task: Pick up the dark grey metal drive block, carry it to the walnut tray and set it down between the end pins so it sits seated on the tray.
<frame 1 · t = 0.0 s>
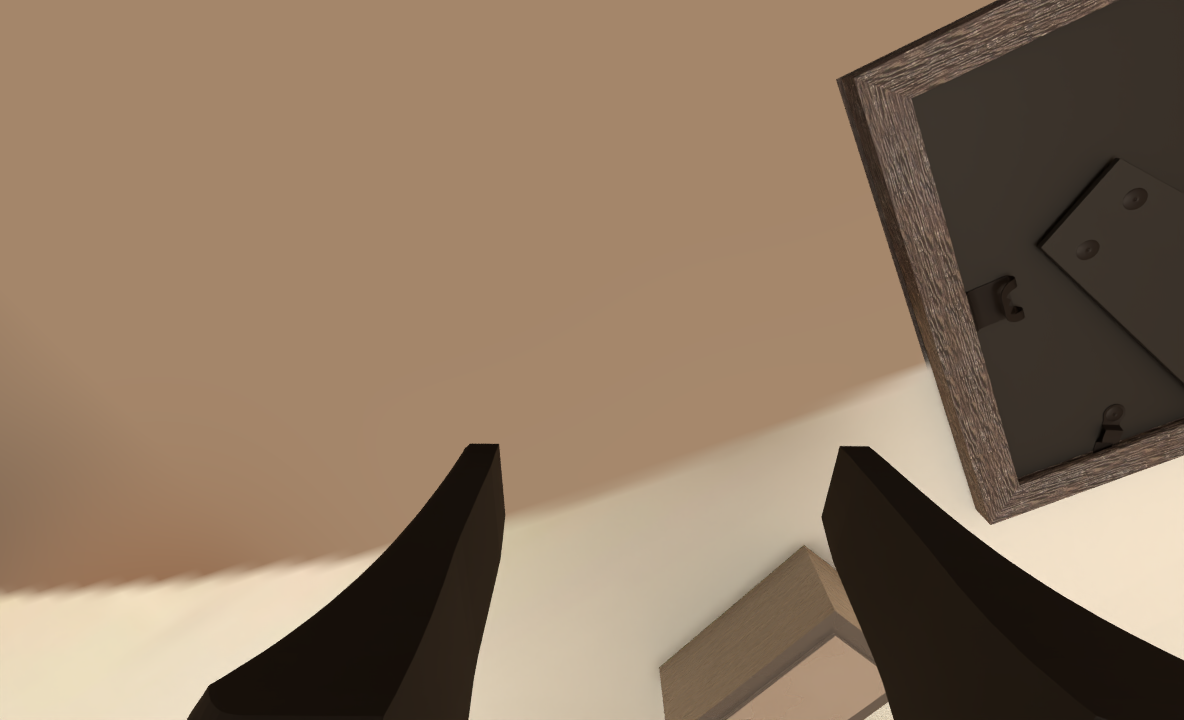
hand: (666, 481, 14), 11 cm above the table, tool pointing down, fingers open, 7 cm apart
picture frame: (1090, 238, 23), on the table
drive: (766, 633, 29), on the table
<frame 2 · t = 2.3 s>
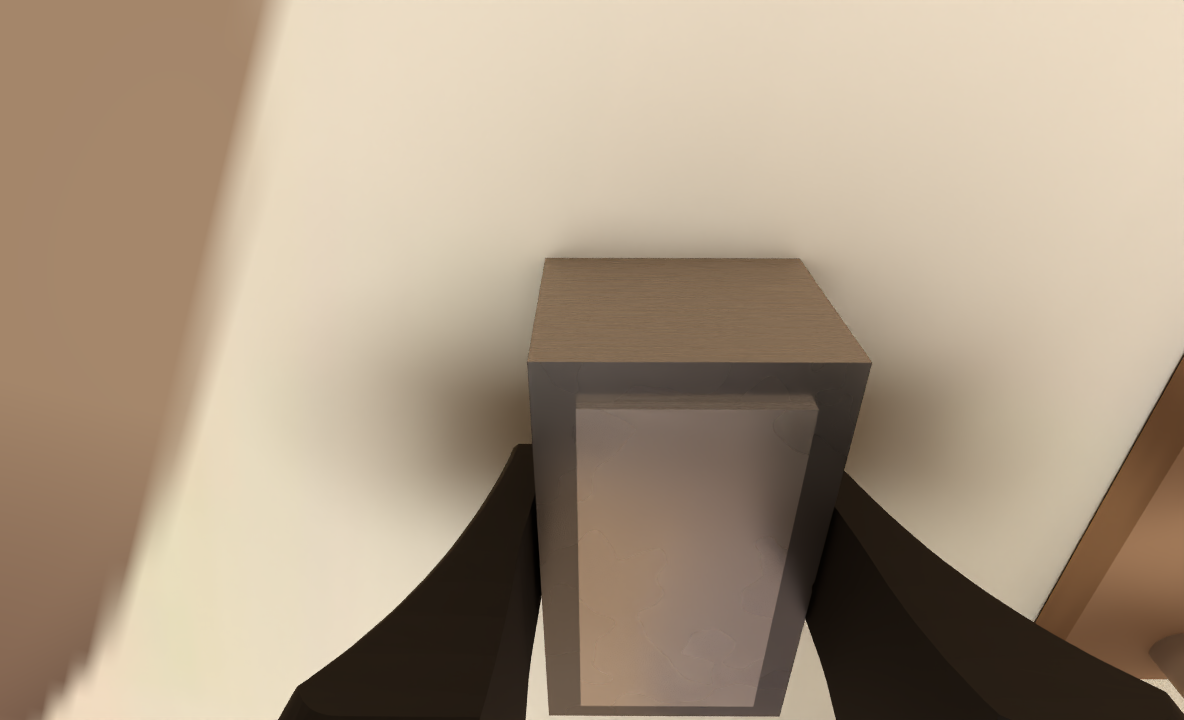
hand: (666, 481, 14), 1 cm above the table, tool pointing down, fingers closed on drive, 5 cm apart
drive: (659, 437, 15), on the table, touching gripper
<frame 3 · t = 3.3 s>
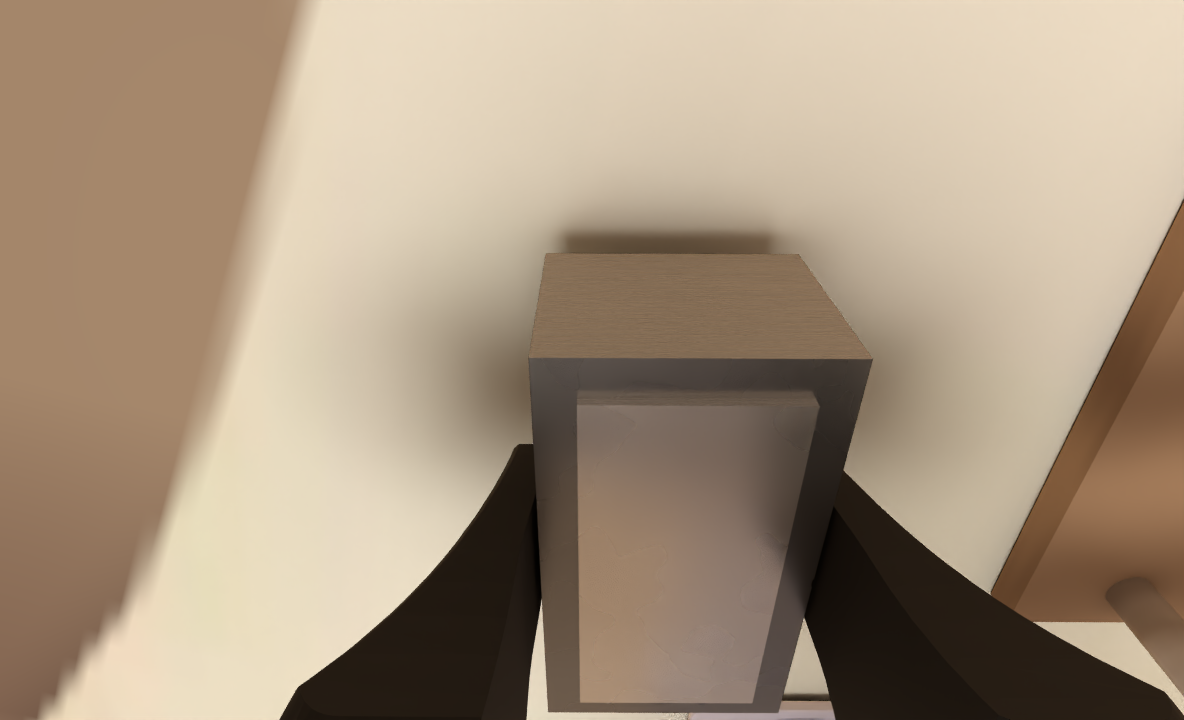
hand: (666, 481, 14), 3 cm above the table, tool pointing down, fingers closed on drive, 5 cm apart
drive: (659, 434, 15), point 2 cm above the table, touching gripper
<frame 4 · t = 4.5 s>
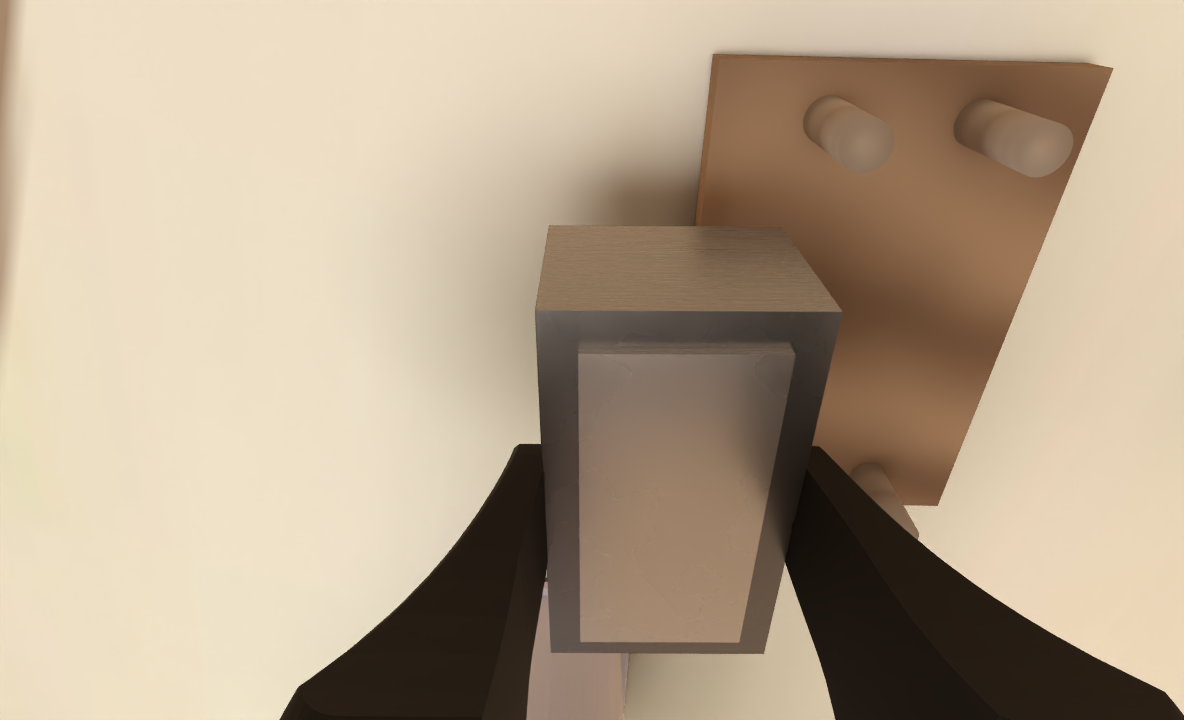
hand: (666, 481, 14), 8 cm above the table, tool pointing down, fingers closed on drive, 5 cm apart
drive: (653, 398, 16), point 5 cm above the table, touching gripper
pin tray: (839, 311, 21), on the table
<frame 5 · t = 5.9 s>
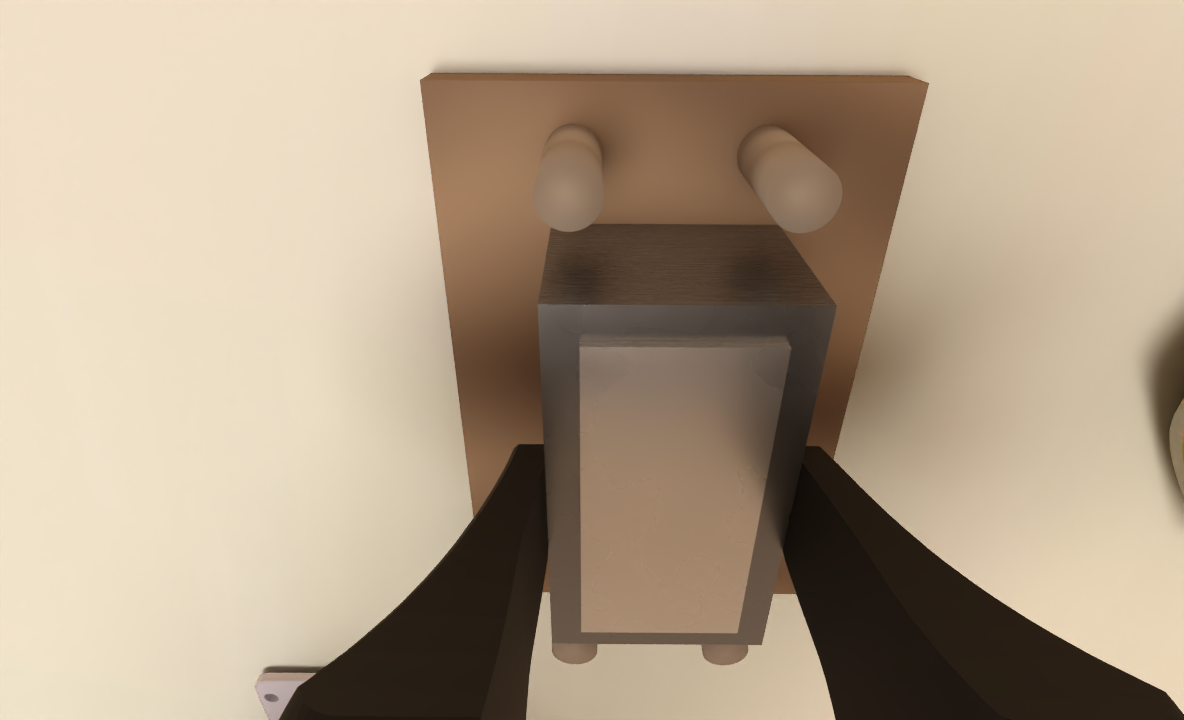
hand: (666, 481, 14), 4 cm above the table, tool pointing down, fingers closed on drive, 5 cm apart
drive: (654, 393, 17), point 1 cm above the table, touching gripper, pin tray
pin tray: (650, 375, 17), on the table
when the fingers open (4 cm above the table, at t = 6.5 s): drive stays where it is, resting on pin tray.
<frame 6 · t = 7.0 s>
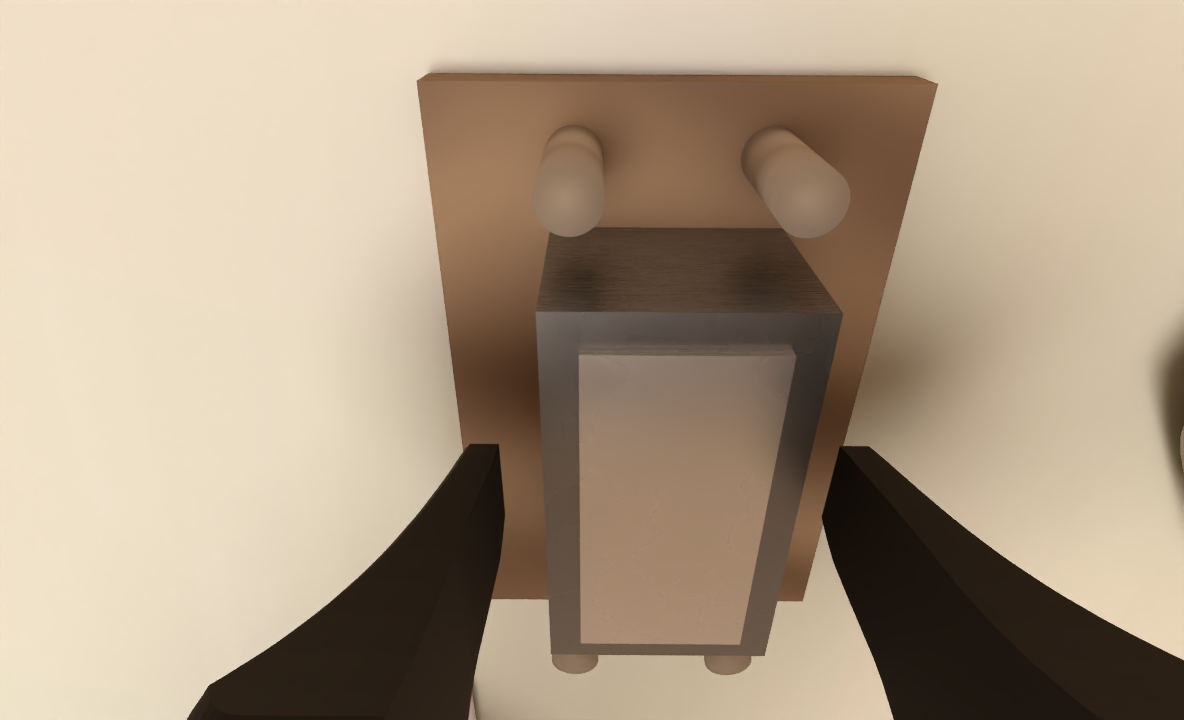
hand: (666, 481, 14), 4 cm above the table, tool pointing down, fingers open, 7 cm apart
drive: (655, 399, 16), point 1 cm above the table, touching pin tray
pin tray: (652, 381, 17), on the table
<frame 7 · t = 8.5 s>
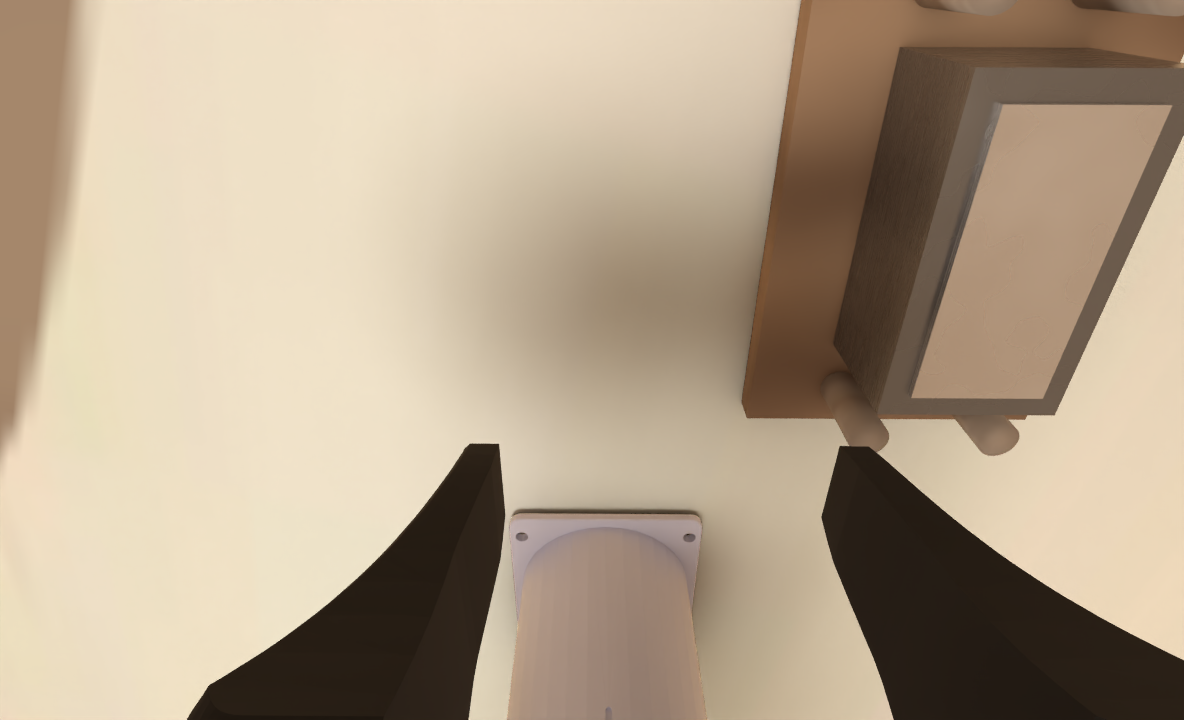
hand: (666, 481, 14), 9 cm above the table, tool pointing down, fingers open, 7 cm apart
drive: (945, 213, 19), point 1 cm above the table, touching pin tray
pin tray: (930, 206, 20), on the table
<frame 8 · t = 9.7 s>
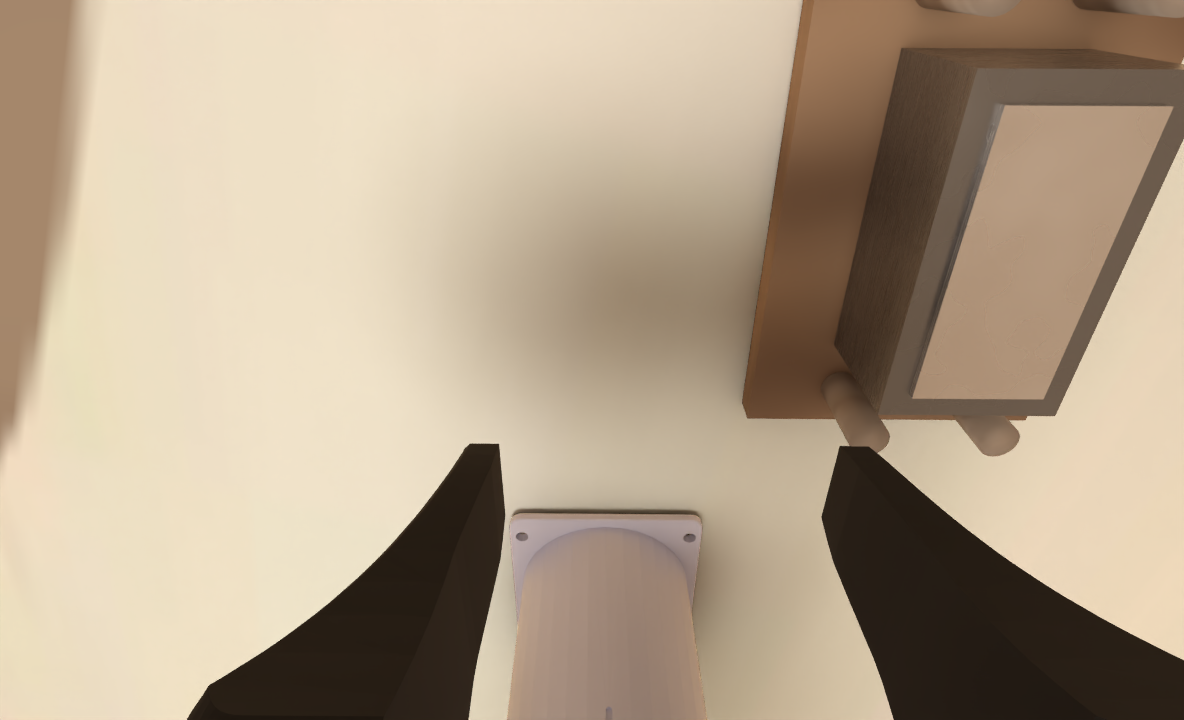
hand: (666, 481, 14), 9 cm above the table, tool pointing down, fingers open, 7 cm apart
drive: (946, 214, 19), point 1 cm above the table, touching pin tray
pin tray: (931, 207, 20), on the table
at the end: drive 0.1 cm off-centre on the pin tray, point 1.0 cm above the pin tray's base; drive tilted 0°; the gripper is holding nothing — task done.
